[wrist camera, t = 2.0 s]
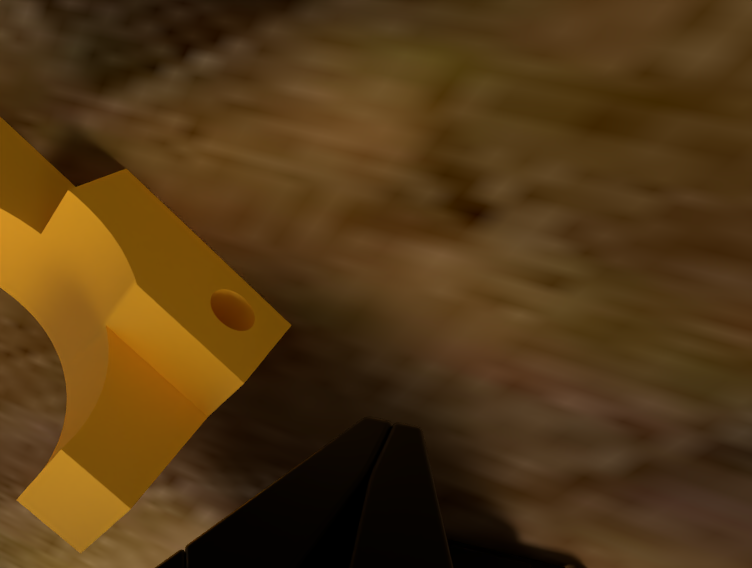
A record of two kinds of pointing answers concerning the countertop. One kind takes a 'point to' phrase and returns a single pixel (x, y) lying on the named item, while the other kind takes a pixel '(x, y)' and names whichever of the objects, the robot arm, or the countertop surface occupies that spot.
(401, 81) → the countertop surface
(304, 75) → the countertop surface
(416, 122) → the countertop surface
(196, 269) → the pipe clamp
